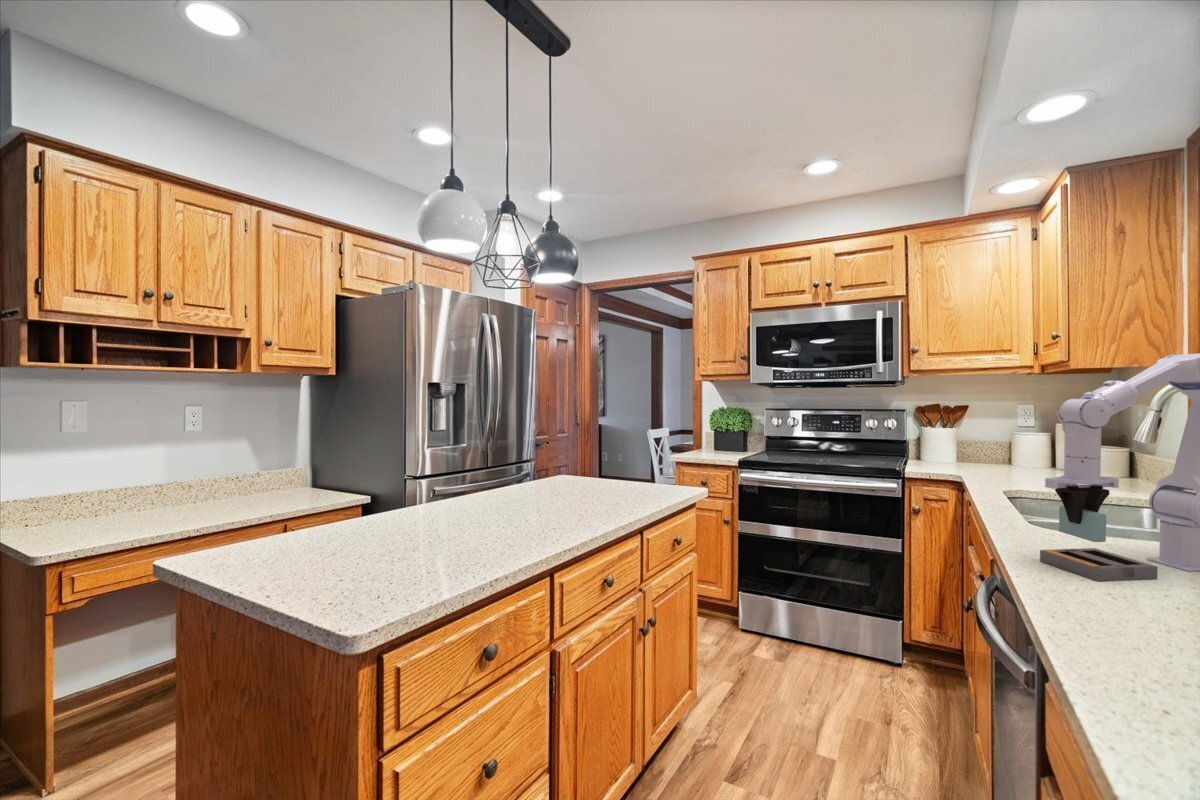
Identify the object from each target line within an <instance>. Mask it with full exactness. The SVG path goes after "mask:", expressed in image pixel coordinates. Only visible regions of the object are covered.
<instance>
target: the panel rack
mask: <svg viewBox="0 0 1200 800" xmlns="http://www.w3.org/2000/svg"><path fill="white" fill-rule="evenodd" d="M1039 562H1042V563H1045V564H1046V565H1050V566H1052V567H1054V568H1058V569H1061V570H1064V571H1066V572H1070V573H1072V574H1075V575H1078V576H1081V577H1084V578H1087V579H1089V580H1092V581H1095V582H1115V581H1139V580H1141V581H1143V580H1158V567H1159V566H1157V565H1153V564H1150V563H1146V562H1143V561H1140V560H1137V559H1133V558H1129V557H1127V556H1122V555H1119V554H1115V553H1113V552H1109V551H1105V550H1102V549H1098V548H1095V547H1091V548H1089V547H1088V548H1087V547H1086V548H1063V549H1062V548H1061V549H1058V548H1057V549H1040V550H1039Z"/></svg>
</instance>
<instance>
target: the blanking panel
mask: <svg viewBox="0 0 1200 800" xmlns="http://www.w3.org/2000/svg"><path fill="white" fill-rule="evenodd" d="M1058 508H1059V509H1058V532H1060V533H1063V534H1066V535H1070V536H1073V537H1076V538H1079V539H1083V540H1086V541H1089V542H1093V543H1106V539H1107V537H1106V536H1107V514H1105V513H1102V512H1099V511H1098V512H1094V511H1090V510H1086V509H1083V511H1082V520H1081V524H1076V523H1072V522H1069V520H1068V517H1067V513H1066V510H1065V507H1064V505H1059V507H1058Z"/></svg>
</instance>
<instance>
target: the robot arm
mask: <svg viewBox="0 0 1200 800" xmlns="http://www.w3.org/2000/svg"><path fill="white" fill-rule="evenodd" d="M1165 384H1168V385H1170V386H1171V387H1173V388H1174V389H1175V390H1177V391H1178V392H1180V394H1182V395H1184V396H1186V397H1187V398H1188V399H1189V400H1190V402H1191V403H1190V406H1189V411H1188V414H1187V417H1186V421H1185V425H1184V429H1183V432H1182V433H1183V434H1182V436H1181V440H1180V444H1179V447H1178V451H1177V455H1176V459H1175V461H1174V462H1175V463H1174V467H1173V470H1172V473H1170V474H1168V475H1166V476H1163V478H1161V479H1159V480H1158V481H1157V485H1156V487H1155V489H1154V490H1153V491H1152V492H1151V493H1150V495H1149V498H1148V505H1149V508H1150V510H1151V511H1152V512H1153V514H1155V515H1156V519H1158V520H1159V551H1158V553H1159V554H1158V555H1159V556H1154V557H1151V556H1150V557H1147V561H1150V562H1154V563H1157V564H1160V565H1164V566H1168V567H1172V568H1174V569H1178V570H1181V571H1184V572H1185V571H1186V572H1200V353H1187V354H1186V353H1185V354H1184V353H1182V354H1177V353H1173V354H1169V355H1167V356H1165V357H1162V358H1160V359H1157V360H1156V362H1155V364H1153V365H1151V366H1150V367H1148V368H1145V370H1143V371H1141V372H1139V373H1137V374H1135V376H1133V377H1131V378H1129V379H1127V380H1126V381H1123V380H1106V381H1104V382H1102V385H1103V386H1100V387H1099V388H1097V389H1095V390H1093V391H1087V392H1085V393H1083V394H1082V395H1083V396H1081V397H1080V398H1071V399H1067V400H1066V401H1064V402H1063V403H1062V404H1061V405H1060V407H1059V409H1058V411H1056V417H1057V419H1058V420H1059V422H1060V423H1061V427H1062V432H1063V433H1064V451H1063V453H1064V464H1063V466H1064V467H1063V470H1064V471H1063V474H1061V475H1060V476H1056V477H1045V479H1044V480H1045V481H1044V482H1045V484H1044V487H1045V488H1048V489H1054V491H1055V492H1056V494H1057V496H1058V497H1059V498H1060V500H1061V502H1062V504H1063V505H1062V506H1064V507H1065V510H1066V513H1067V517H1068V520H1069V522H1072V523H1076V524H1081V520H1082V511H1083V509H1086V510H1090V511H1094V512H1098V513H1099V511H1100V508H1101V507H1102V504H1103V503H1104V501H1105V500H1106V499H1107V498H1108V496H1110V489H1106V488H1114V489H1118V488H1119V487H1120V478H1118V477H1112V476H1101V474H1102V473H1101V468H1102V467H1101V465H1102V464H1101V463H1102V461H1101V459H1102V457H1101V456H1102V455H1101V454H1102V427H1105V426H1106V425H1107V424H1108V422H1109V421H1110V418H1111V417H1112V416H1113V415H1116V414H1117V413H1119V412H1121V411H1123V410H1125V409H1127V408H1129V407H1131V406H1133V405H1135V404H1136V402H1137V401H1138V398H1139V396H1140V395H1142V394H1145V393H1146V392H1149V391H1151V390H1153V389H1156V388H1158V387H1161V386H1162V385H1165Z"/></svg>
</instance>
